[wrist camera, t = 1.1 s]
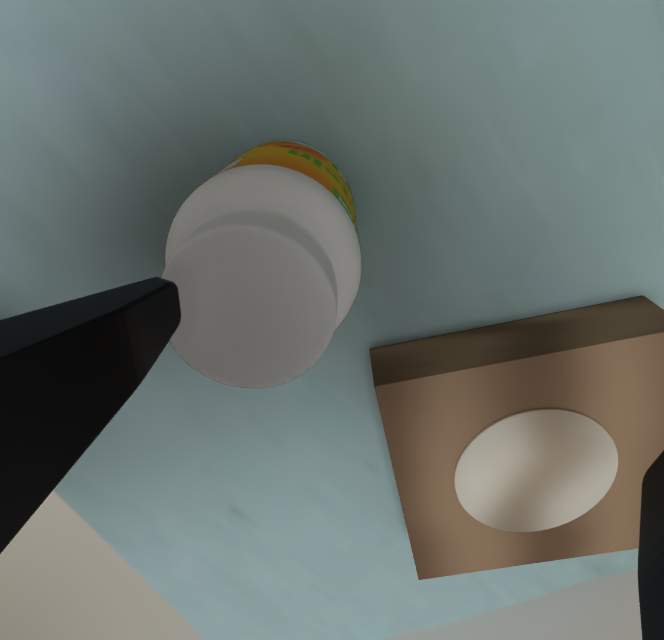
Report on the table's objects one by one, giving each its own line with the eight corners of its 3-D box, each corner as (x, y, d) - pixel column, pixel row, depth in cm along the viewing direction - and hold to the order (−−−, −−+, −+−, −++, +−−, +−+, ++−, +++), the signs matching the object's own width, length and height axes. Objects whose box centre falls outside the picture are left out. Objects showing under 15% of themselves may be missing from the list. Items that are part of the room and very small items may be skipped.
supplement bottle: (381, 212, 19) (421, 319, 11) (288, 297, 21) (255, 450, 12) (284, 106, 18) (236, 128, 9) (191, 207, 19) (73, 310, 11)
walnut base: (410, 530, 27) (419, 583, 24) (369, 349, 22) (374, 389, 19) (632, 496, 26) (668, 547, 23) (643, 295, 21) (692, 329, 18)
